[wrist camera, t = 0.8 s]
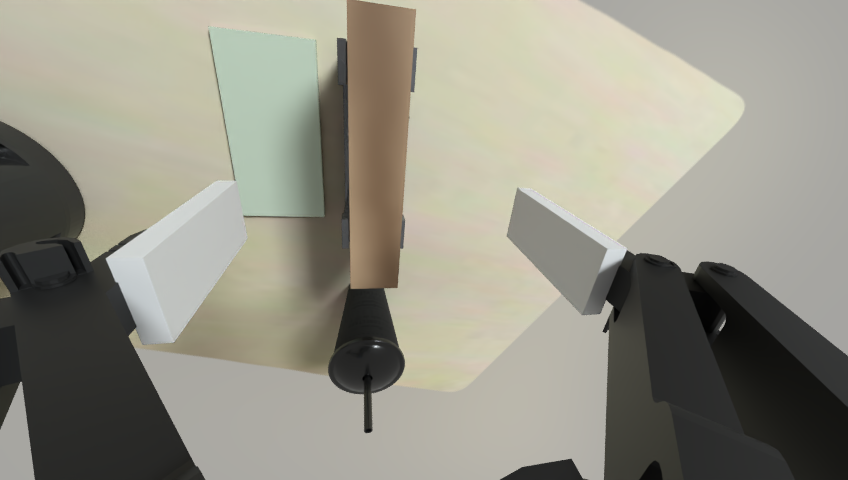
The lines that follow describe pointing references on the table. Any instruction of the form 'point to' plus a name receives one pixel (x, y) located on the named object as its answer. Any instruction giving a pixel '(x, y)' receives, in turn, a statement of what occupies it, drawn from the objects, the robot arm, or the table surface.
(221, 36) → the mat
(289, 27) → the table surface
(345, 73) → the rack
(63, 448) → the robot arm
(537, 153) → the table surface
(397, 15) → the rail
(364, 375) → the drinking cup
